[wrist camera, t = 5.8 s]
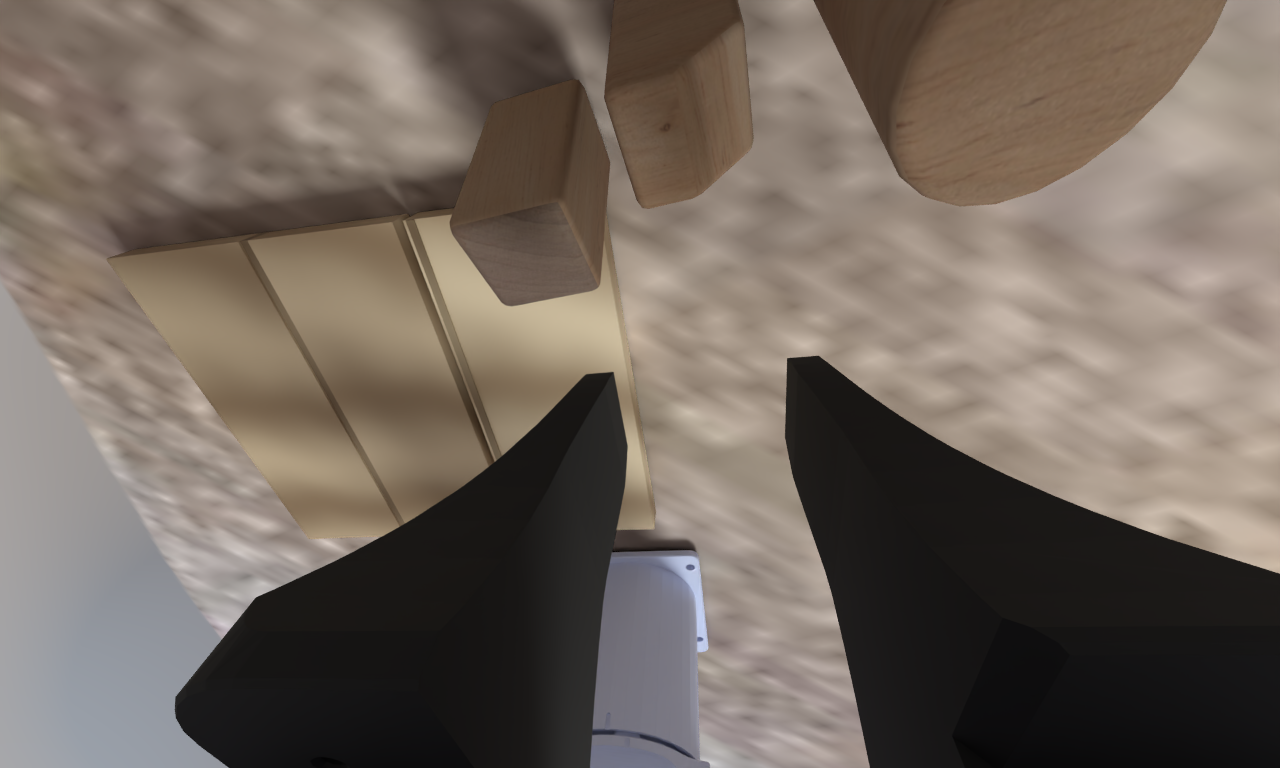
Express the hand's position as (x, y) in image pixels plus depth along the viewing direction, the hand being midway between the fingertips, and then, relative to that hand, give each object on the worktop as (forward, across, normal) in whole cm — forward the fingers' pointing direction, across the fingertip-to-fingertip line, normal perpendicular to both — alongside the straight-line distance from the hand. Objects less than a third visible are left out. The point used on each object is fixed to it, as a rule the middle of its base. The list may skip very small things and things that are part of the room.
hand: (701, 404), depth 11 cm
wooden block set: (+10, -3, -6) cm, 12 cm away
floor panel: (+9, +16, +5) cm, 20 cm away
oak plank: (+9, +6, +5) cm, 12 cm away
